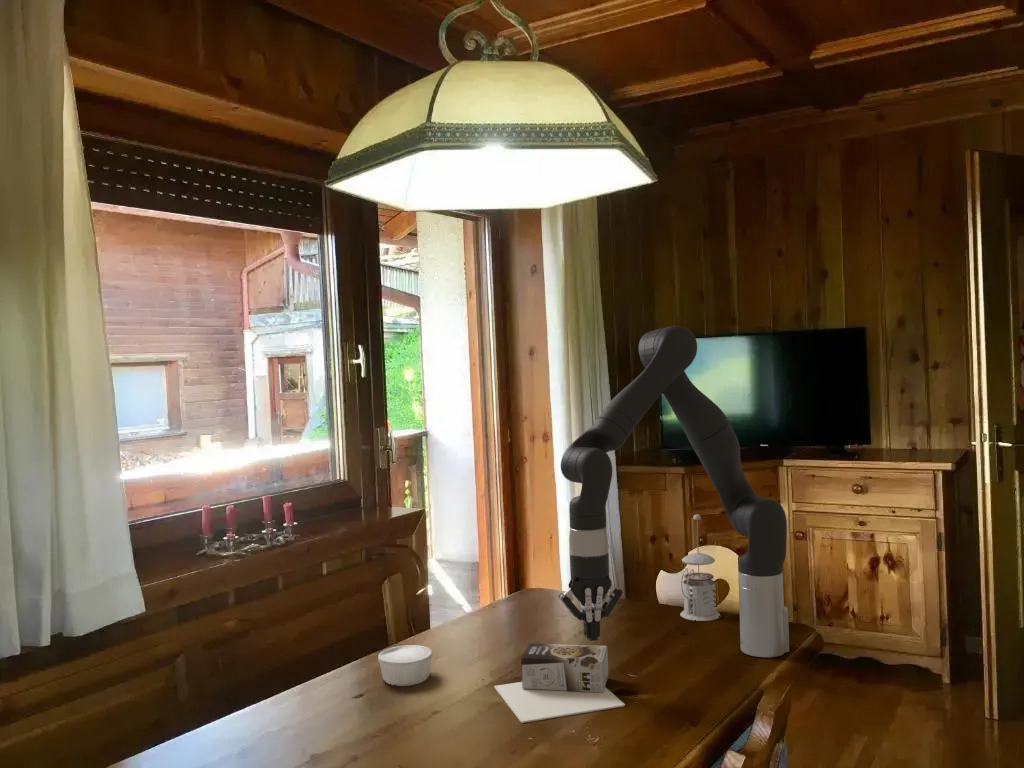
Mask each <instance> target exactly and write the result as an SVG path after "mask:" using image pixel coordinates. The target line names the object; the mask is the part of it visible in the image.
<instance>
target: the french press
mask: <svg viewBox="0 0 1024 768" xmlns="http://www.w3.org/2000/svg"><path fill="white" fill-rule="evenodd" d="M693 520H696V538H697V541H696V543H697V545H699V520H702V517H701V515H700V514H697V513H696V514H694V515H693ZM699 550H700V549H699V546H697V552H696V553H695V552H694V553H690V554H687V555H685V556H684V557H683V558H681V561H682V563H683V564H685V565H689V566H697V567H698V569H697V570H698V571H697V572H695V570H694V569H693V568H691V570H690V571H689V569H688V568H685V569H684V570H683V572H682V575H681V582H680V585H681V587H680V588H681V592H682V595H683V610H682V611H681V612H680V617H682V618H683V619H686V620H688V621H695V620H696V621H698V622H700V621H701V622H703V621H704V622H706V621H707V622H708V621H715V620H717V619H719V618H720V617H721V614H720V612H719V611H718V610H717V608H716V606H717V603H716V602H717V598H715V597H716V596H717V595H716V594H717V593H715V592H716V582H715V580H713V579H714V575H713V574H712V573H708V572H700V566H704V565H705V566H707V565H712V564H713V563H715V562H716V559H715V558H714V557H713V556H711V555H709V554H706V553H702V552H699ZM685 572H686V574H685ZM683 578H685V579H684V580H683ZM719 616H720V617H719Z"/></svg>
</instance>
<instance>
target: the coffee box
mask: <svg viewBox="0 0 1024 768" xmlns="http://www.w3.org/2000/svg"><path fill="white" fill-rule="evenodd" d="M608 654H609V653H608V645H598V644H597V645H595V644H594V645H593V644H592V645H591V644H565V643H563V644H562V643H560V644H559V643H558V644H557V643H555V644H554V643H533V642H532V643H531V642H529V643H528V645H527V647H526V648H525V650H524V652H523V654H522V656H521V657H520V675H521V682H522V689H539V690H558V691H579V692H598V693H603V692H604V689H605V687H606V685H607V682H608V677H609V657H608Z"/></svg>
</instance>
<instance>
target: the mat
mask: <svg viewBox="0 0 1024 768" xmlns="http://www.w3.org/2000/svg"><path fill="white" fill-rule="evenodd" d="M493 687H494V689H495V690H496V692H497V693H498V694H499V695H500V696H501V698H502V699H503V701H504V702H505V704H506V705H507V706H508V708H509V709H510V710H511V711H512V712H513V714H514V715H515V716H516V718H517V720H519V722H520V723H521V724H524V723H531V722H537V721H542V720H549V719H555V718H561V717H568V716H573V715H580V714H584V713H585V714H586V713H592V712H598V711H603V710H609V709H616V708H623V707H625V706H626V704H625V703H624V702H623V701H622V700H620V698H618V697H617V696H616V695H615V693H613V692H612V691H611V690H610V689H609V688H607V687H606V686H605V689H604V692H603V693H598V692H579V691H558V690H539V689H522V681H519V682H511V683H506V684H499V685H494V686H493Z"/></svg>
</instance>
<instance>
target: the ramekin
mask: <svg viewBox="0 0 1024 768" xmlns="http://www.w3.org/2000/svg"><path fill="white" fill-rule="evenodd" d="M377 657H378V658H377V659H378V663H379V666H380V671H381V672H380V673H381V676H382V679H383V681H384V682H385V683H387V684H388V685H390V684H391V685H390V686H394V685H396V686H395V687H406V686H408V687H409V686H414V685H419V684H421V683H424V682H425V681H426V680H427V679H428V678H429V676H430V674H431V666H432V658H433V650H432V649H431V648H429V647H428V646H423V645H418V644H417V645H415V644H408V645H407V644H406V645H398V646H393V647H389V648H386V649H384V650H382V651H381V652H380V653H379V654H378V656H377Z"/></svg>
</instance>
